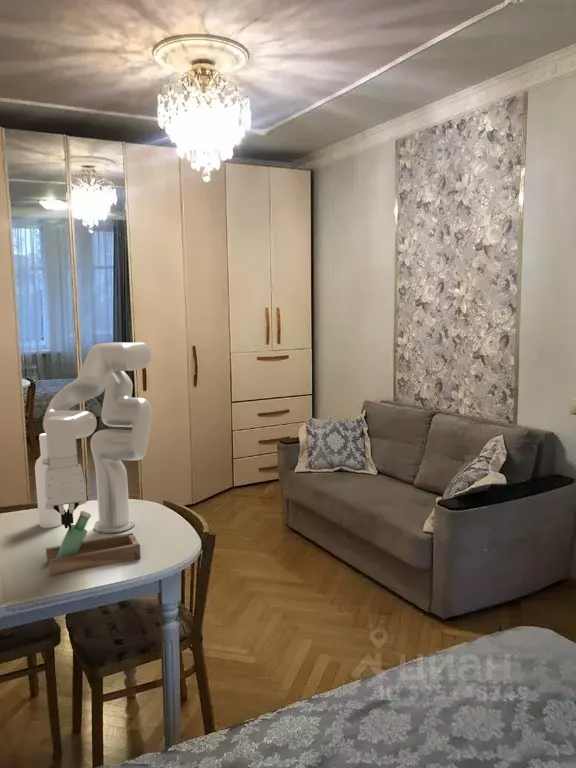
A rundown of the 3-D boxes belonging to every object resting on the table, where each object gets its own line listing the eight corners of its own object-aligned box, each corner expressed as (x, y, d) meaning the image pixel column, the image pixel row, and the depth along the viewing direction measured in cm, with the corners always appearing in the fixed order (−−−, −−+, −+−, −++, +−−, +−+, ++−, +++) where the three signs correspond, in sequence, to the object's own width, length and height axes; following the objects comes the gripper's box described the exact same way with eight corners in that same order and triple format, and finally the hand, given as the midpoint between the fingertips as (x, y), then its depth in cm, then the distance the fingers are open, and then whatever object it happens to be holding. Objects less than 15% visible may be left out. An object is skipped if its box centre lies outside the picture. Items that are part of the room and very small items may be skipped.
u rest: (47, 561, 178) (46, 548, 177) (133, 545, 188) (132, 533, 187) (50, 576, 169) (49, 561, 168) (140, 558, 179) (139, 545, 178)
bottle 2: (53, 556, 176) (76, 507, 176) (70, 561, 178) (93, 513, 179) (55, 563, 171) (78, 513, 172) (72, 568, 173) (95, 519, 174)
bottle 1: (56, 517, 213) (49, 430, 208) (69, 522, 208) (63, 433, 203) (34, 524, 207) (26, 434, 202) (47, 530, 202) (39, 438, 197)
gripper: (34, 468, 165) (39, 536, 167) (93, 461, 171) (97, 526, 174) (32, 461, 171) (37, 526, 174) (89, 455, 178) (93, 517, 180)
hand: (67, 526), depth 174 cm, fingers closed
